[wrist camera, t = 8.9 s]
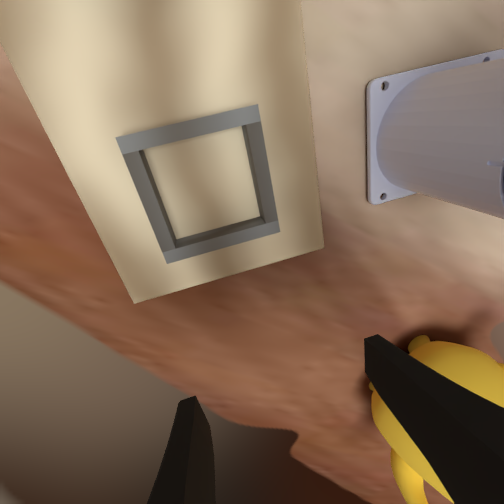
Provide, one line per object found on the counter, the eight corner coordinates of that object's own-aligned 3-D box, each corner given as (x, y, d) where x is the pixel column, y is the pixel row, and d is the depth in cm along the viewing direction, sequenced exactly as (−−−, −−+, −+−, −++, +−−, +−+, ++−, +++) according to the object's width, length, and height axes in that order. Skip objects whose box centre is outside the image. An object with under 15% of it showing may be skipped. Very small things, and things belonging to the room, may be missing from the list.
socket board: (245, -445, 9) (264, -628, 7) (318, 242, 21) (333, 256, 19) (-225, -428, 8) (-389, -646, 6) (136, 295, 20) (130, 317, 17)
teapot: (312, 420, 31) (381, 586, 20) (444, 285, 26) (632, 404, 15) (383, 441, 36) (469, 581, 25) (503, 333, 31) (674, 447, 20)
